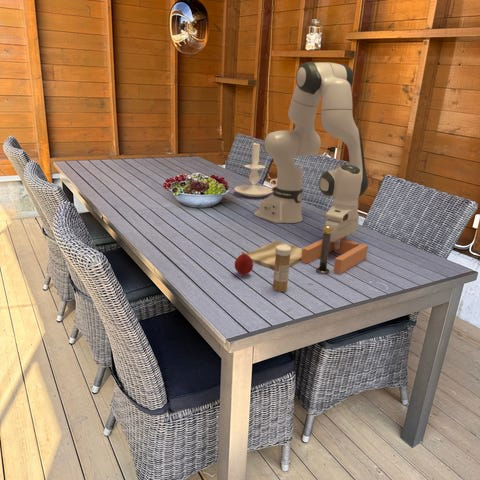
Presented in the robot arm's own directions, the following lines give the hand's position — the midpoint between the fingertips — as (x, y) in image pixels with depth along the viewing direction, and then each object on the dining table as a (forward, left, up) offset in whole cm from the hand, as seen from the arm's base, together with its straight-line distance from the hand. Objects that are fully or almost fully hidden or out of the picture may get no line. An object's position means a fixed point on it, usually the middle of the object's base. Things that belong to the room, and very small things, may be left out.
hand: (339, 247), depth 169 cm
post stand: (+4, -21, -2) cm, 21 cm away
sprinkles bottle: (+1, -42, -2) cm, 42 cm away
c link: (+2, -9, -2) cm, 9 cm away
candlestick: (-72, +46, -2) cm, 85 cm away
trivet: (-14, -20, -2) cm, 25 cm away
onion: (-13, -42, -2) cm, 44 cm away
